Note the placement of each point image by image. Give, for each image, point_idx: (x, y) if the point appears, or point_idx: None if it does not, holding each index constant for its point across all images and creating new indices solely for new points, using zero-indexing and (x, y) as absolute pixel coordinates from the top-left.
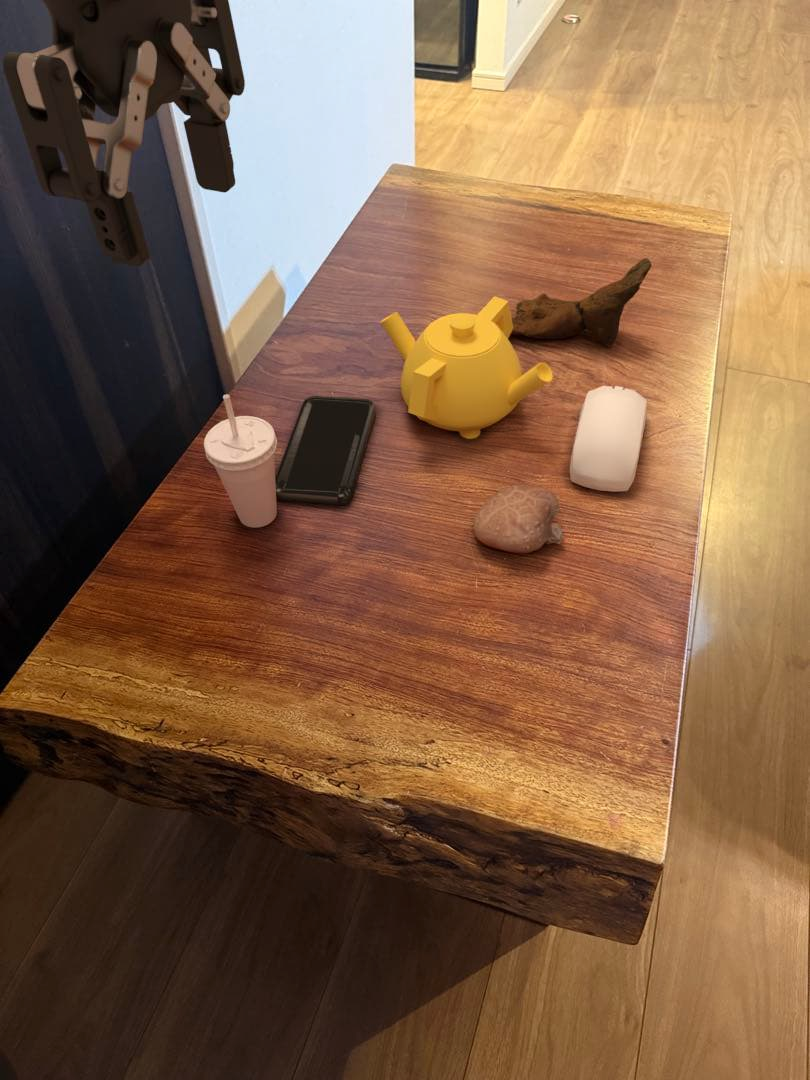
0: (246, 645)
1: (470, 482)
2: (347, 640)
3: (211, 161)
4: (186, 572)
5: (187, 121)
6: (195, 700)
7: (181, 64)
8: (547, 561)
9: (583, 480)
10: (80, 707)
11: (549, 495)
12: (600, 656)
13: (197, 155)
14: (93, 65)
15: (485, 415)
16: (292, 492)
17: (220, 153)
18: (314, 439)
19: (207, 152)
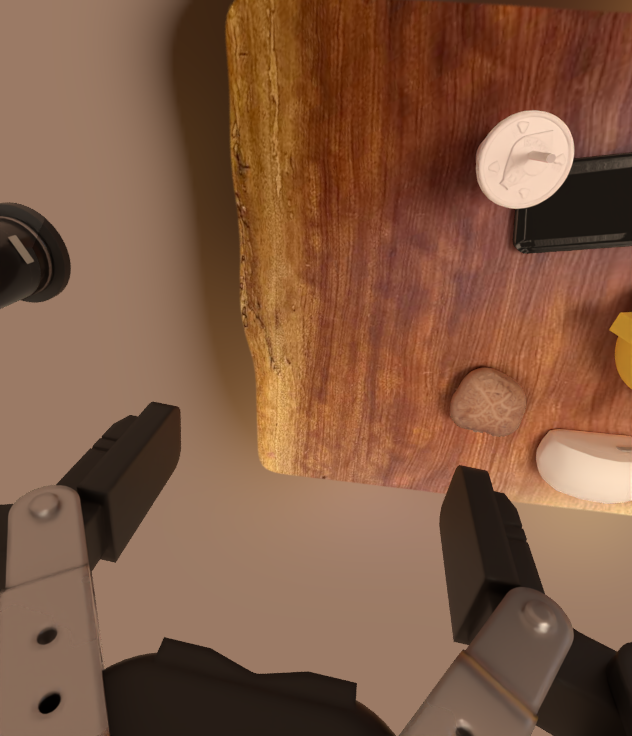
0: (332, 209)
1: (550, 353)
2: (355, 290)
3: (454, 542)
4: (405, 108)
5: (492, 583)
6: (272, 186)
7: None
8: None
9: (544, 443)
10: (237, 80)
11: (505, 433)
12: (375, 449)
13: (466, 524)
14: None
15: (623, 377)
16: None
17: (449, 579)
18: (619, 186)
19: (459, 554)
